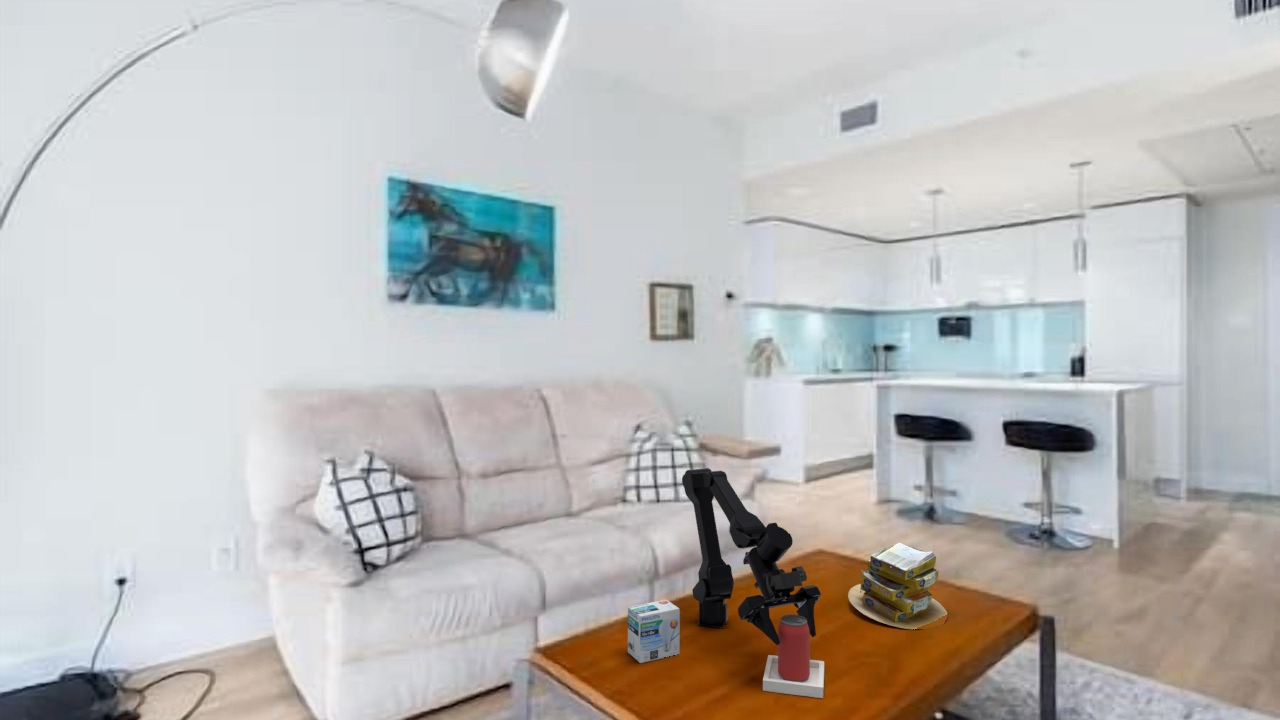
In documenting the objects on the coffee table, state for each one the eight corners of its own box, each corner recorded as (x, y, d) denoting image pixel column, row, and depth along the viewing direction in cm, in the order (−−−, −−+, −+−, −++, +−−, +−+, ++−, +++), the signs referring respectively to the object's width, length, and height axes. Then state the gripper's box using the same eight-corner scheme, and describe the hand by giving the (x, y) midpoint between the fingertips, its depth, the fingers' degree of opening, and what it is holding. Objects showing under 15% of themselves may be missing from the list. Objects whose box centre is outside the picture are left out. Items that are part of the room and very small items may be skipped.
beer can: (802, 686, 143) (802, 628, 143) (772, 677, 147) (772, 620, 147) (814, 673, 149) (814, 617, 149) (785, 665, 153) (785, 611, 152)
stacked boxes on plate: (969, 620, 180) (969, 556, 179) (894, 637, 170) (895, 568, 169) (898, 589, 202) (898, 532, 202) (829, 602, 192) (829, 542, 192)
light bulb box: (639, 664, 156) (639, 616, 156) (626, 652, 162) (626, 606, 162) (681, 654, 161) (681, 607, 161) (666, 643, 167) (666, 598, 167)
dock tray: (762, 690, 144) (762, 680, 144) (768, 664, 155) (768, 654, 155) (823, 698, 141) (823, 687, 140) (824, 671, 152) (824, 661, 152)
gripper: (745, 560, 148) (775, 631, 138) (816, 548, 155) (850, 615, 145) (725, 585, 155) (753, 654, 145) (794, 573, 163) (825, 638, 153)
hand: (796, 640), depth 147 cm, fingers open, 9 cm apart
